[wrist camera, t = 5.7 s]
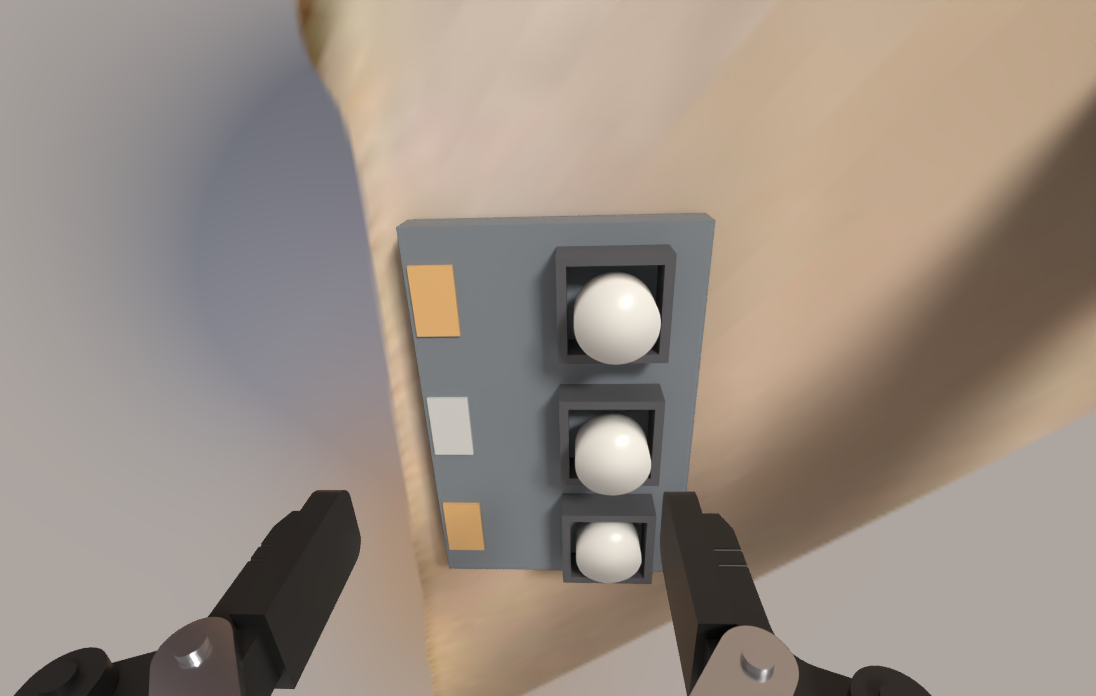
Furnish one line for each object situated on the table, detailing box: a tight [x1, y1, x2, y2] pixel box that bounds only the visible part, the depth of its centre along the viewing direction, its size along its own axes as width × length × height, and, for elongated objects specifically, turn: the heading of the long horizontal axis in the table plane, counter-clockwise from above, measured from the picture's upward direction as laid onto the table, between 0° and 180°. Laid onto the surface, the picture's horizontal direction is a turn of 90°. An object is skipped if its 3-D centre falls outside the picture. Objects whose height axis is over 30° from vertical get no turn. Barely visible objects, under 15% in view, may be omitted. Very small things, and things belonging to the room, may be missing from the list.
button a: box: [574, 272, 661, 365], centre depth 24 cm, size 4×4×2 cm
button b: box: [575, 413, 651, 495], centre depth 28 cm, size 4×4×2 cm
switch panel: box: [396, 213, 715, 584], centre depth 30 cm, size 16×24×4 cm, turn 2°
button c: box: [576, 522, 641, 583], centre depth 32 cm, size 4×4×2 cm
